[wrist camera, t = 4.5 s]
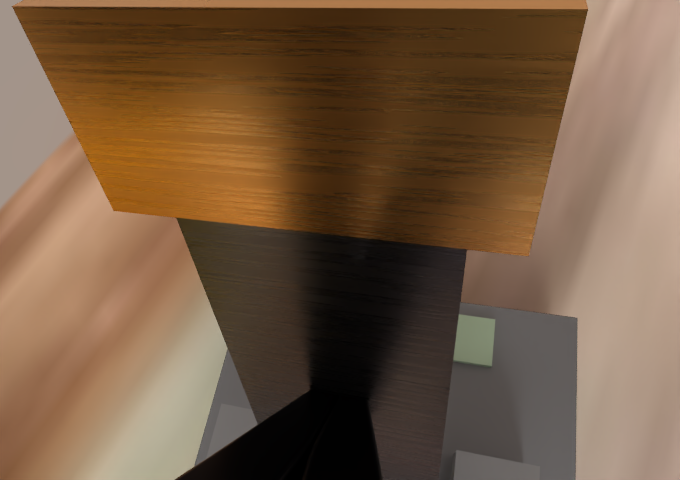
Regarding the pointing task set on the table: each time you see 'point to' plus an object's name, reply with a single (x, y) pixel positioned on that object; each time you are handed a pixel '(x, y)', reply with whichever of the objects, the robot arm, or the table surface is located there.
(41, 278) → the table surface
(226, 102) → the breaker lever
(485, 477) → the box
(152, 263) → the table surface
